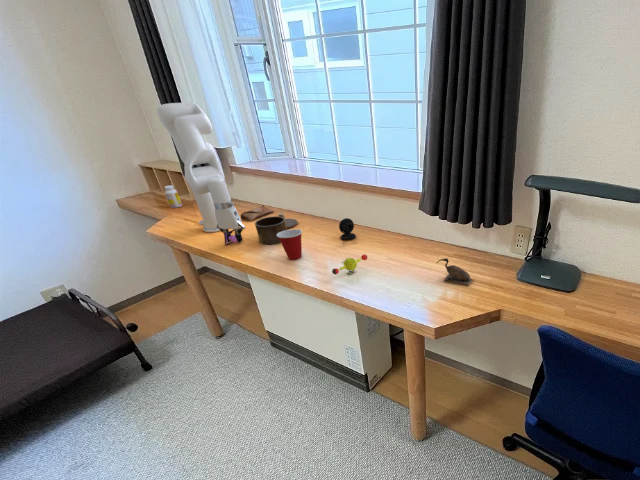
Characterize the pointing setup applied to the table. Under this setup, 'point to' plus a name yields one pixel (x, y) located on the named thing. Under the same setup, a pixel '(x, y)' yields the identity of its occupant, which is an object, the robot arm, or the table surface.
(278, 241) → the basket
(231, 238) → the purple toy package
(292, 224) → the basket lid
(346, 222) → the webcam
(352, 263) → the toy figure
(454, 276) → the figurine
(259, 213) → the sunglasses case
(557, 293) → the table surface
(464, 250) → the table surface
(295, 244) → the plastic cup
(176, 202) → the supplement bottle
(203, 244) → the table surface
